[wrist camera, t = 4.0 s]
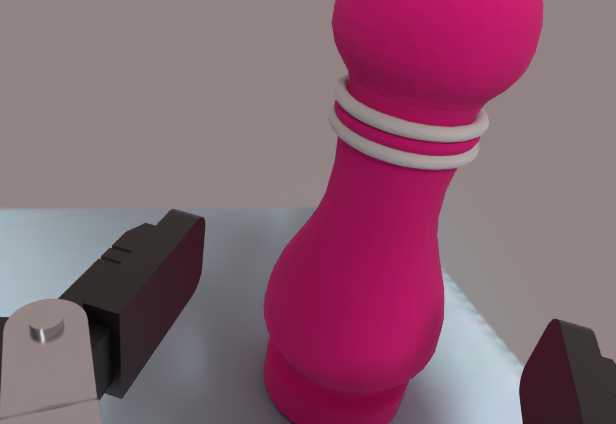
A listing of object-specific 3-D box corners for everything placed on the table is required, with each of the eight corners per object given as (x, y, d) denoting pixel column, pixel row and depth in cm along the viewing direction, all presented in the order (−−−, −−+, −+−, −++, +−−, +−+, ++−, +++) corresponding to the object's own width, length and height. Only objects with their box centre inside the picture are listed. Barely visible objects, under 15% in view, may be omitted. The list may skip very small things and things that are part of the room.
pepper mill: (297, 302, 28) (391, -150, 18) (428, 363, 26) (624, -109, 16) (220, 399, 22) (293, -190, 12) (381, 486, 20) (641, -133, 10)
